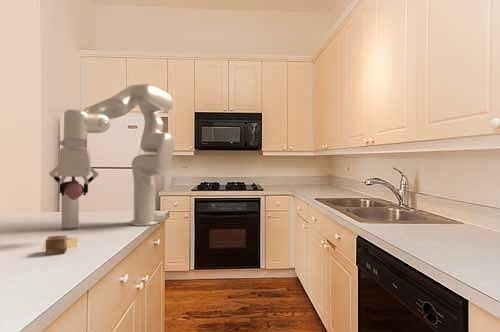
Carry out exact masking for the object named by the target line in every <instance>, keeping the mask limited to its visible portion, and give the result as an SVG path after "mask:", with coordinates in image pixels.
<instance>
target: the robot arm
mask: <svg viewBox="0 0 500 332" xmlns="http://www.w3.org/2000/svg"><path fill="white" fill-rule="evenodd" d="M173 106H174V100H173V98H172V96H171V95H170V93H168V92H166V91H165V90H163V89H161V88H158V87H157V86H154V85H153V84H150V83H149V84H148V83H143V84H142V83H141V84H133V85H129V86H127V87H125V88H124V89H123V90H121V91H119V92H118V93H116V94H114V95H113V96H112V97H110V98H107V99H104V100H102V101H100V102H97V103H95V104H92V105H90V106H88V107H86V108H84V109H82V110H81V109H67V110H65V111H64V113H63V114H64V115H63V139H61V140H59V141H58V145H59V146H62V147H61V148H60V150H59V155H58V164H57V166H56V167H55V168H54V169H52V170H51V171H50V172H49V173H48V175H49V176H50V177H51V178H53V179H54V180H55V182H57V183H58V184H59V194H61V197H62V196H63V195H64V188H65V184H64V182H65V180H66V178H67V177H71V178H72V177H75V178H76V177H77V178H78V177H80V178H82V179H83V181H84V182H83V183H84V184H83V188H84V192H83V194H82V196H86V195H87V194H88V193H89V184H90V183H91V182H92V181H94V180H95V179H96V177H98V176H99V173H98V172H97V171H96V170H95V169H94V168H93V167H92V166H91V152H90V149H89V148H88V134H102V133H105V132H106V131H108V130H109V128H110V127H111V120H113V119H114V120H115V119H117V118H121V117H123V116H125V115H127V114H128V113H129V112H131V111H132V110H133V109H135V108H136V107H138V108H139V109H140V112H141V114H142V116H143V118H144V127H143V131H142V134H141V139H140V145H139V146H140V149H141V150H142V151H143V152H144V153H146V154H144V153H143V154H138V155H136V156H134V157H133V159H132V161H131V170H132V177H133V219H132V220H130V221H129V225H131V226H137V227H138V226H139V227H141V226H142V227H143V226H144V227H146V226H154V225H158V224H159V222H160V219H166V218H167V215H166V213H165V214H163V213H162V214H160V213H157V212H156V194H157V193H156V191H157V189H156V188H157V187H156V181H155V178H154V177H153V176H155V177H156V176H157V177H160V176H161V177H162V176H165V175H166V174H168V172H169V170H170V168H171V163H172V158H173V154H174V152H175V139H174V137H173V135H172V134H171V133H169V132H167V131H165V132H164V131H163V130H164V122H163V118H162V117H161V116H160V114H159V113H166V112H167V113H168V112H170V111H171V110H172V109H173ZM56 173H57V174H58V175H59V176H60V177H59V176H58V175H57V174H56ZM91 174H92V175H91ZM90 175H91V176H90ZM89 176H90V177H89ZM88 177H89V178H88Z"/></svg>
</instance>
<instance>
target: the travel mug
mask: <svg viewBox="0 0 500 332" xmlns="http://www.w3.org/2000/svg"><path fill="white" fill-rule="evenodd" d="M71 181H72V180H70V181H64V184H65V186H66V185H67V184H69V183H70V182H71ZM76 181H77V182H78V183H79V184H80V182H79V181H78V180H76ZM79 198H80V197H78V198H77V199H76V200H72V199H70V198H69V197H68V196H67V195H66V194H65V192H64V195H63V196H62V195H61V230H63V231H73V230H78V229H79V226H80V225H79V222H80V221H79V220H80V219H79V217H80V215H79V211H80V210H79V209H80V206H79V205H80V204H79V201H80V200H79Z"/></svg>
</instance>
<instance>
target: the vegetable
mask: <svg viewBox="0 0 500 332" xmlns="http://www.w3.org/2000/svg"><path fill="white" fill-rule="evenodd" d="M70 181H71V182H70V183H69V184H67V185H66V186H65V188H64V192H65V194H66V195H67V196H68V197H69V198H70V199H72V200H76V199H77V198H78V197H79V198H80V197H82V196H83V193H84V185H83V184H81V183H80V182H79V181H78V180H76V177H71V180H70ZM77 181H78V182H79V183H78V182H77Z"/></svg>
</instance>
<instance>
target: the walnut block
mask: <svg viewBox="0 0 500 332" xmlns="http://www.w3.org/2000/svg"><path fill="white" fill-rule="evenodd" d="M67 238H68V235H51V236H48V237H47V238H46V239H45V241H46V250H45V256H56V255H65V254H66V252H67V249H68V248H67Z"/></svg>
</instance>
